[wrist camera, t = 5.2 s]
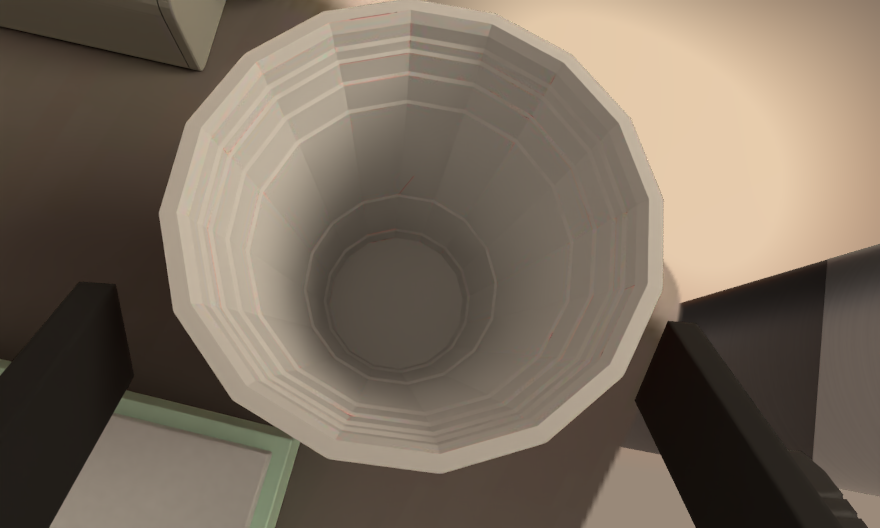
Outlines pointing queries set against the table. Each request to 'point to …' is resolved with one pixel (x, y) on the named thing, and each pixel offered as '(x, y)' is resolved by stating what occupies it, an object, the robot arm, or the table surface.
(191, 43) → the digital clock
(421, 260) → the plastic cup
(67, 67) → the table surface
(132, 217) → the table surface
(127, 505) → the kitchen scale
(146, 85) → the table surface
